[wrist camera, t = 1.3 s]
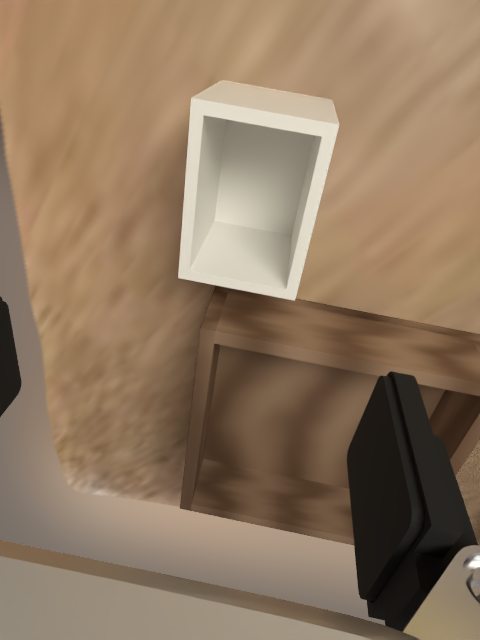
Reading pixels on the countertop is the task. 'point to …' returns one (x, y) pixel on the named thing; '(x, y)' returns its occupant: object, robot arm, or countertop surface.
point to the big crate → (309, 405)
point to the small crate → (253, 186)
